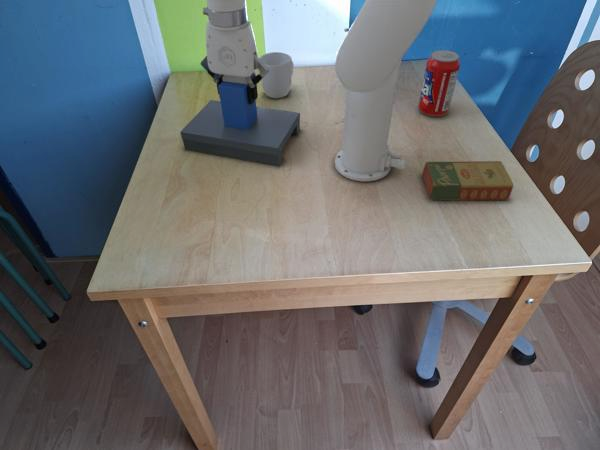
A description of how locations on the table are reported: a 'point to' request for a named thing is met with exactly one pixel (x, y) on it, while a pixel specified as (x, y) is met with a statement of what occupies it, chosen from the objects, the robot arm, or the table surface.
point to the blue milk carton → (236, 103)
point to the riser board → (241, 134)
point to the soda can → (439, 83)
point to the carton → (467, 180)
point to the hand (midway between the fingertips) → (238, 98)
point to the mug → (277, 74)
